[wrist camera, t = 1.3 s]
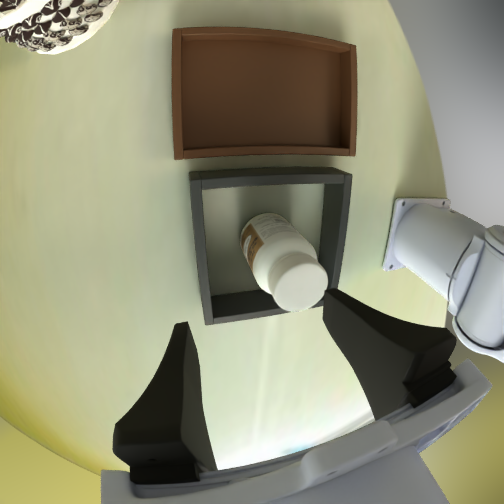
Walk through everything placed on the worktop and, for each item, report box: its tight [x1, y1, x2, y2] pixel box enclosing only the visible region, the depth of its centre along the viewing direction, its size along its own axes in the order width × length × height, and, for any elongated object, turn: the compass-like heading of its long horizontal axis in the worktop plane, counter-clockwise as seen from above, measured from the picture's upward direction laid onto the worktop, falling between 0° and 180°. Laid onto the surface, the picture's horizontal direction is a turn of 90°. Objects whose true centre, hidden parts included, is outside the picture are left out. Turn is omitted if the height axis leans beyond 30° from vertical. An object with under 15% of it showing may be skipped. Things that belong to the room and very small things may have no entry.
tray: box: [172, 27, 357, 160], centre depth 17 cm, size 13×9×2 cm
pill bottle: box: [240, 213, 328, 312], centre depth 19 cm, size 4×4×8 cm
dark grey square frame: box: [189, 167, 352, 325], centre depth 21 cm, size 11×11×3 cm
